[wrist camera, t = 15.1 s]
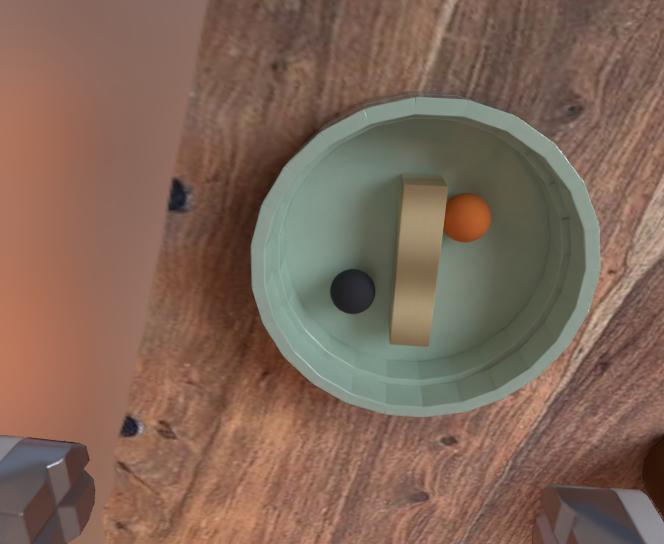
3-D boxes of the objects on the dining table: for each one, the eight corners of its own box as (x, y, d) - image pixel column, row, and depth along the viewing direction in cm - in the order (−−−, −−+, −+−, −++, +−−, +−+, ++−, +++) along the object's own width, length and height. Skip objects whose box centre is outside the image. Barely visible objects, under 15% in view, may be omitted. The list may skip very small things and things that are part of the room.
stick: (400, 173, 30) (403, 184, 27) (442, 174, 30) (448, 186, 27) (388, 322, 34) (389, 345, 31) (424, 325, 34) (428, 347, 31)
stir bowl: (265, 83, 29) (246, 88, 24) (600, 99, 28) (644, 108, 24) (269, 360, 36) (253, 404, 32) (534, 380, 35) (557, 429, 31)
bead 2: (425, 221, 30) (445, 180, 29) (462, 225, 32) (484, 187, 30) (445, 250, 28) (468, 208, 27) (484, 254, 30) (509, 214, 28)
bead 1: (380, 263, 32) (338, 259, 31) (386, 305, 30) (342, 302, 29) (361, 282, 34) (322, 278, 33) (366, 321, 33) (325, 319, 32)
